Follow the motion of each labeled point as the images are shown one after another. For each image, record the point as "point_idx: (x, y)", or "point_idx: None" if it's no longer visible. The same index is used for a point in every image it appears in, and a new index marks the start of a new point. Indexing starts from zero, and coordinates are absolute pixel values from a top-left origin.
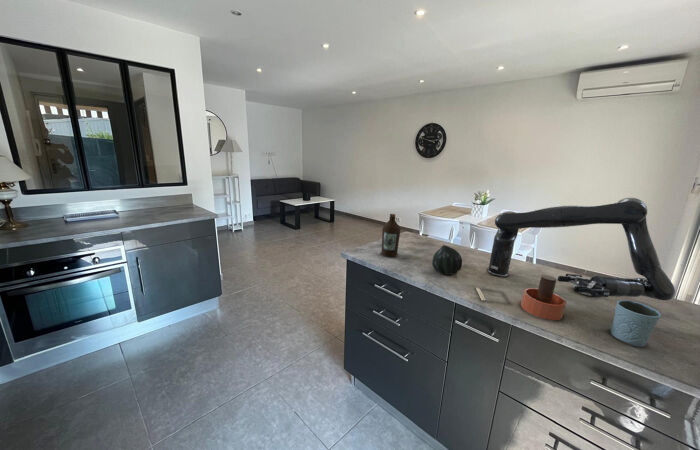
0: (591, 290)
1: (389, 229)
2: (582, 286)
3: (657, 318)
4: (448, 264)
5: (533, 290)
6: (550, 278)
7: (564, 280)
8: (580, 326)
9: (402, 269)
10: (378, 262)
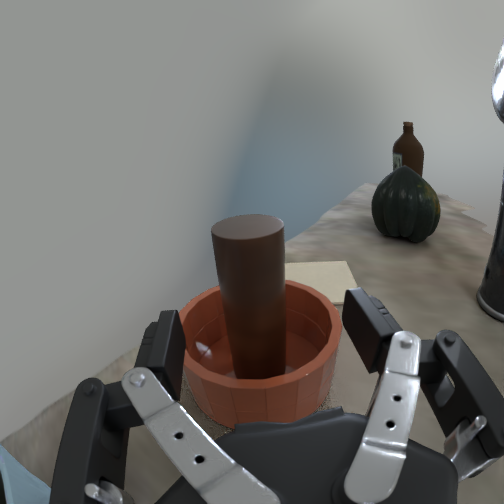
0: (109, 384)
1: (394, 145)
2: (159, 343)
3: None
4: (372, 201)
5: (326, 315)
6: (235, 226)
7: (358, 341)
8: (157, 452)
9: (356, 205)
10: (361, 194)
